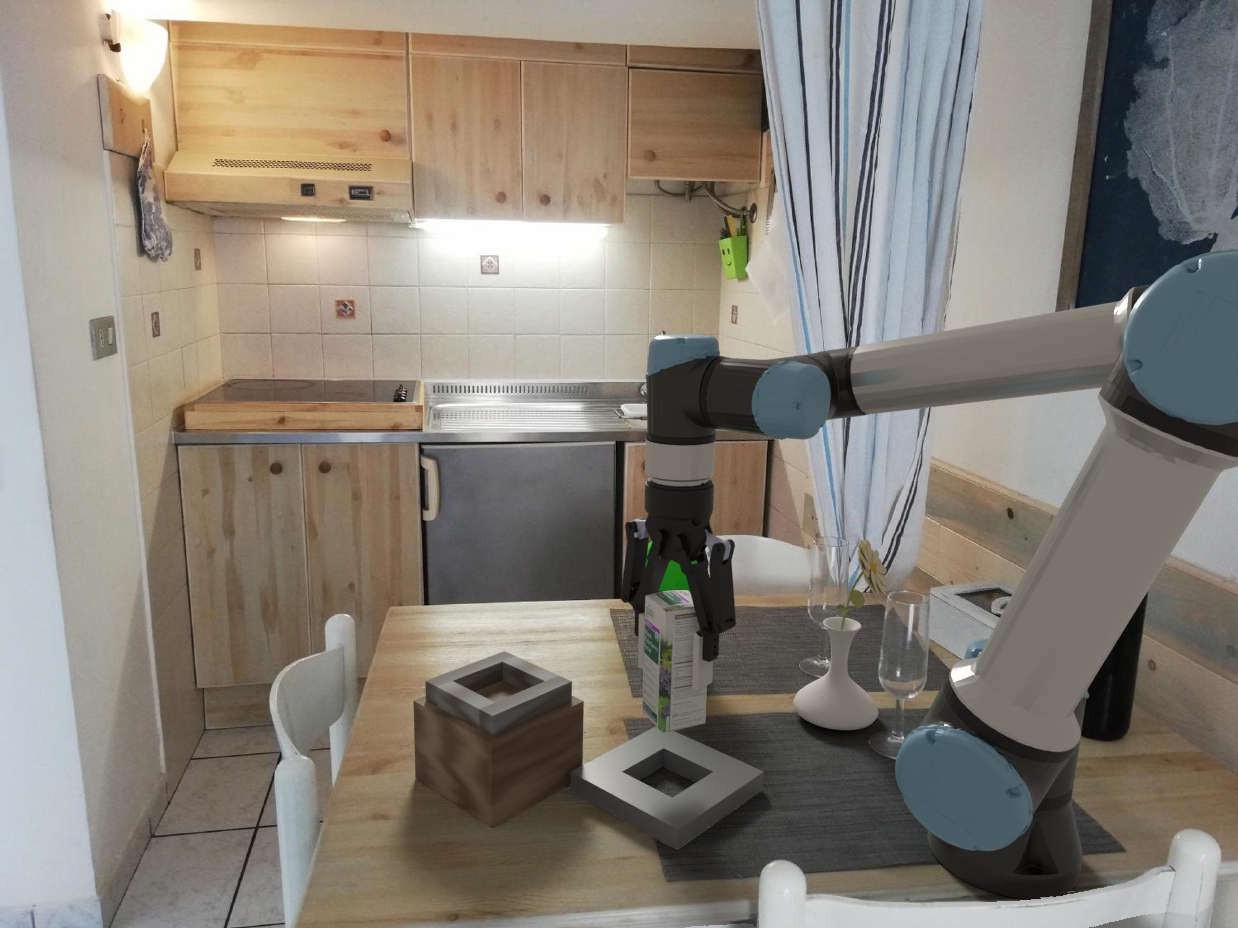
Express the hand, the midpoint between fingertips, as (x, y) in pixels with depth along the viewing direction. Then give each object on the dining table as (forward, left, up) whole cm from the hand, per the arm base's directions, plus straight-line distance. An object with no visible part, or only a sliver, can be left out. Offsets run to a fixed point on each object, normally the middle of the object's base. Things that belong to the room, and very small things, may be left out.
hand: (674, 674), depth 106 cm
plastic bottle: (+21, -26, -15) cm, 37 cm away
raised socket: (+16, +12, -15) cm, 25 cm away
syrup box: (0, 0, -6) cm, 6 cm away
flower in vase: (-5, -31, -15) cm, 35 cm away
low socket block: (0, 0, -15) cm, 15 cm away
